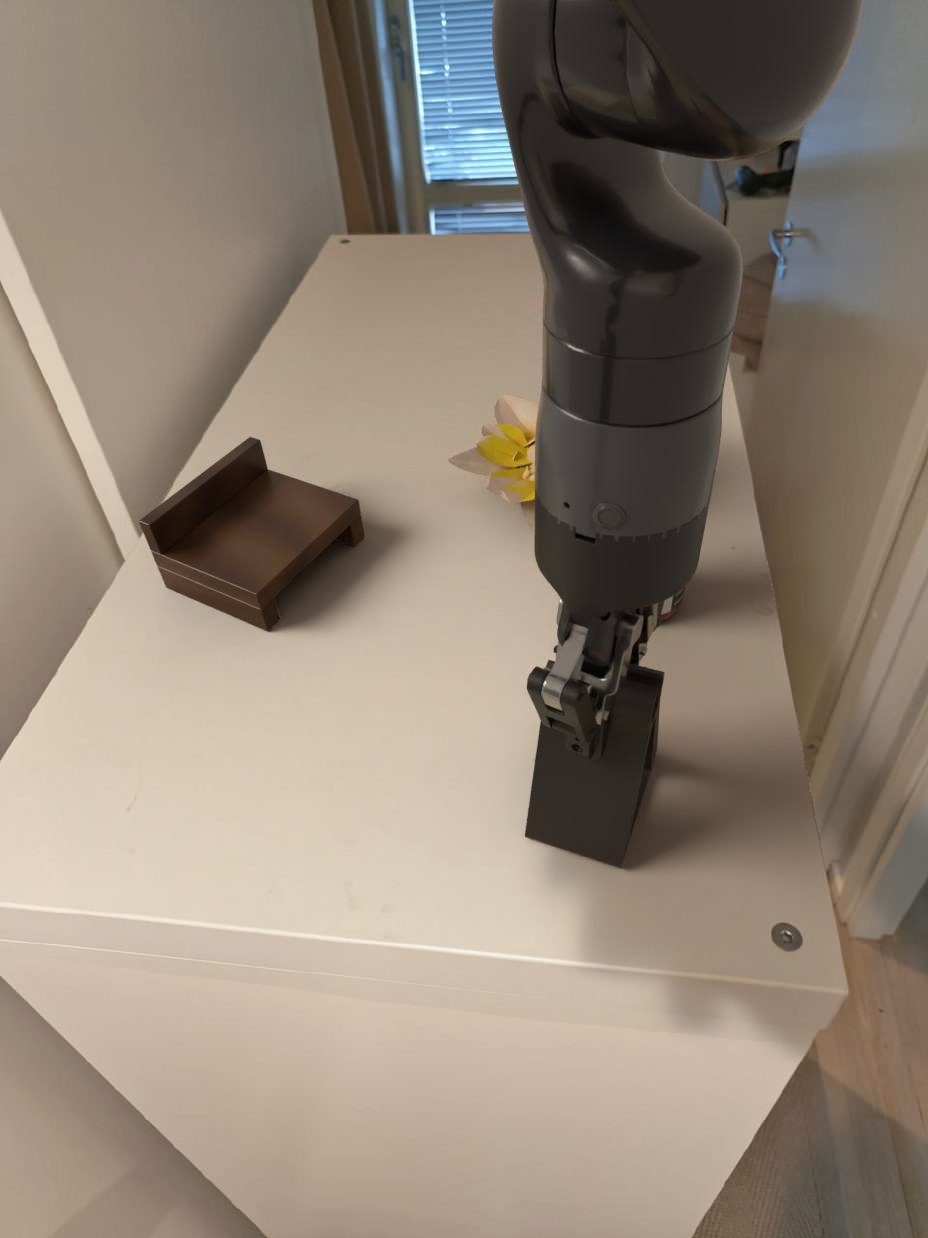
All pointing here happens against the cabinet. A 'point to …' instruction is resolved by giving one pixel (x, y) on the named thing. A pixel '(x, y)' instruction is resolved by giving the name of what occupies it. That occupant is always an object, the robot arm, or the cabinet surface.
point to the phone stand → (598, 776)
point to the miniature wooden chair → (245, 533)
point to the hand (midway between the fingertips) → (599, 724)
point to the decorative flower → (507, 454)
